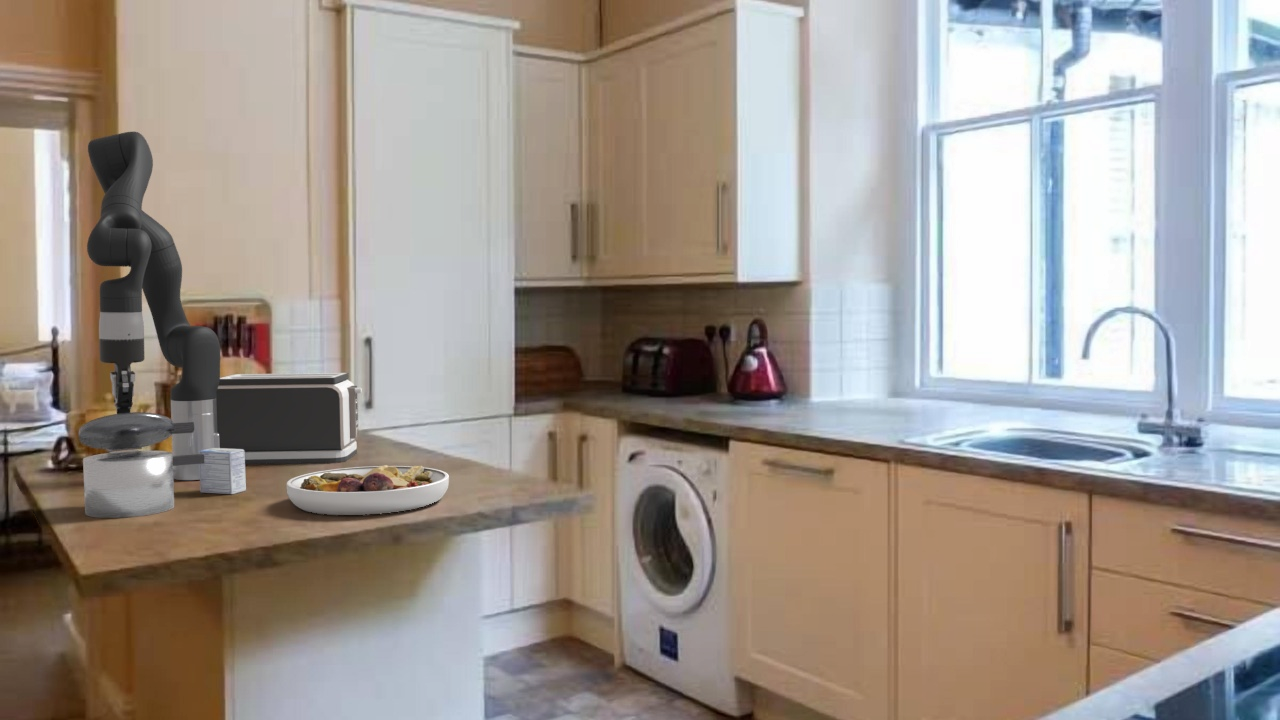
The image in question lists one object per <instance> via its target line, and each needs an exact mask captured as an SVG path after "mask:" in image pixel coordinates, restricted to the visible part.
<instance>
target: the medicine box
mask: <svg viewBox="0 0 1280 720" xmlns="http://www.w3.org/2000/svg"><path fill="white" fill-rule="evenodd" d="M199 454H204V463H203V464H200V480H199V482H200V484H199V487H200V493H201V494H202V493H203V494H204V493H205V494H206V493H207V494H223V495H236V494H240V493H243V492H245V491H247V485H246V483H247V480H246V465H245V455H244V450H243V449H227V448H211V449H206V450H202V451H200V452H199Z"/></svg>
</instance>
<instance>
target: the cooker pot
mask: <svg viewBox="0 0 1280 720" xmlns="http://www.w3.org/2000/svg"><path fill="white" fill-rule="evenodd" d="M82 463H83V464H82V466H83V470H82V471H83V492H84V493H83V494H84V515H85V516H87V517H90V518H99V519H102V518H103V519H121V518H122V519H123V518H135V517H136V518H137V517H143V516H149V515H150V516H151V515H155V514H160V513H165V512H168V511H170V510H172V509H174V508H175V492H174V491H175V490H174V489H175V487H174V485H175V484H174V478H173V466H178V465H190V464H203V463H204V454H193V455H180V456H173V452H172V451H165V450H140V449H134V450H120V451H108V452H105V453H100V454H95V455H89V456H86V457H83V458H82Z"/></svg>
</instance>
